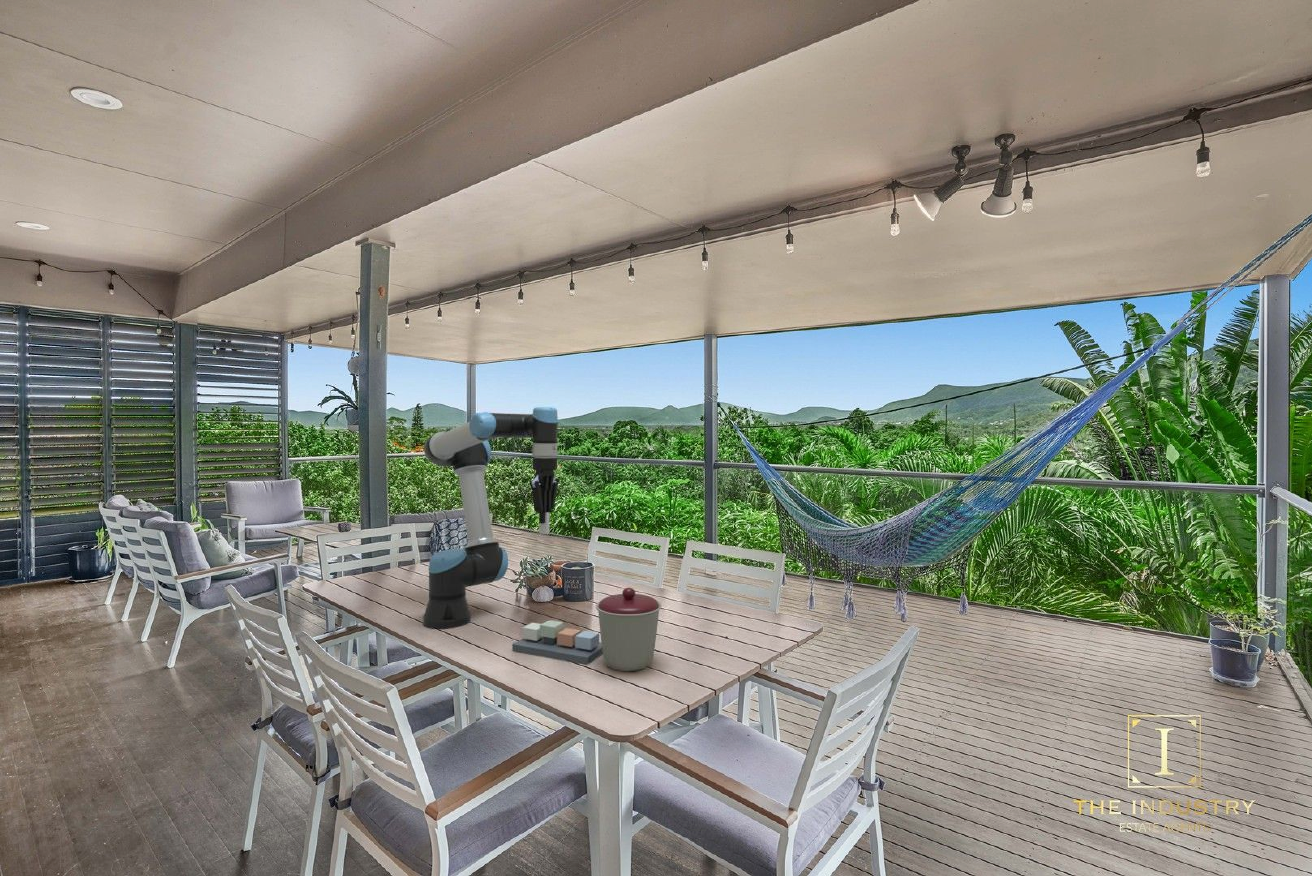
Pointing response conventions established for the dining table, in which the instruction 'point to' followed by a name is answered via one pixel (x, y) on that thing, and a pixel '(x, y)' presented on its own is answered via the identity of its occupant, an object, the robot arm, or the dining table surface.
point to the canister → (628, 629)
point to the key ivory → (532, 632)
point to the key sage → (551, 628)
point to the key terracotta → (567, 637)
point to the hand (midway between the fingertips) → (544, 533)
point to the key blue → (587, 640)
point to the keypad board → (557, 650)
